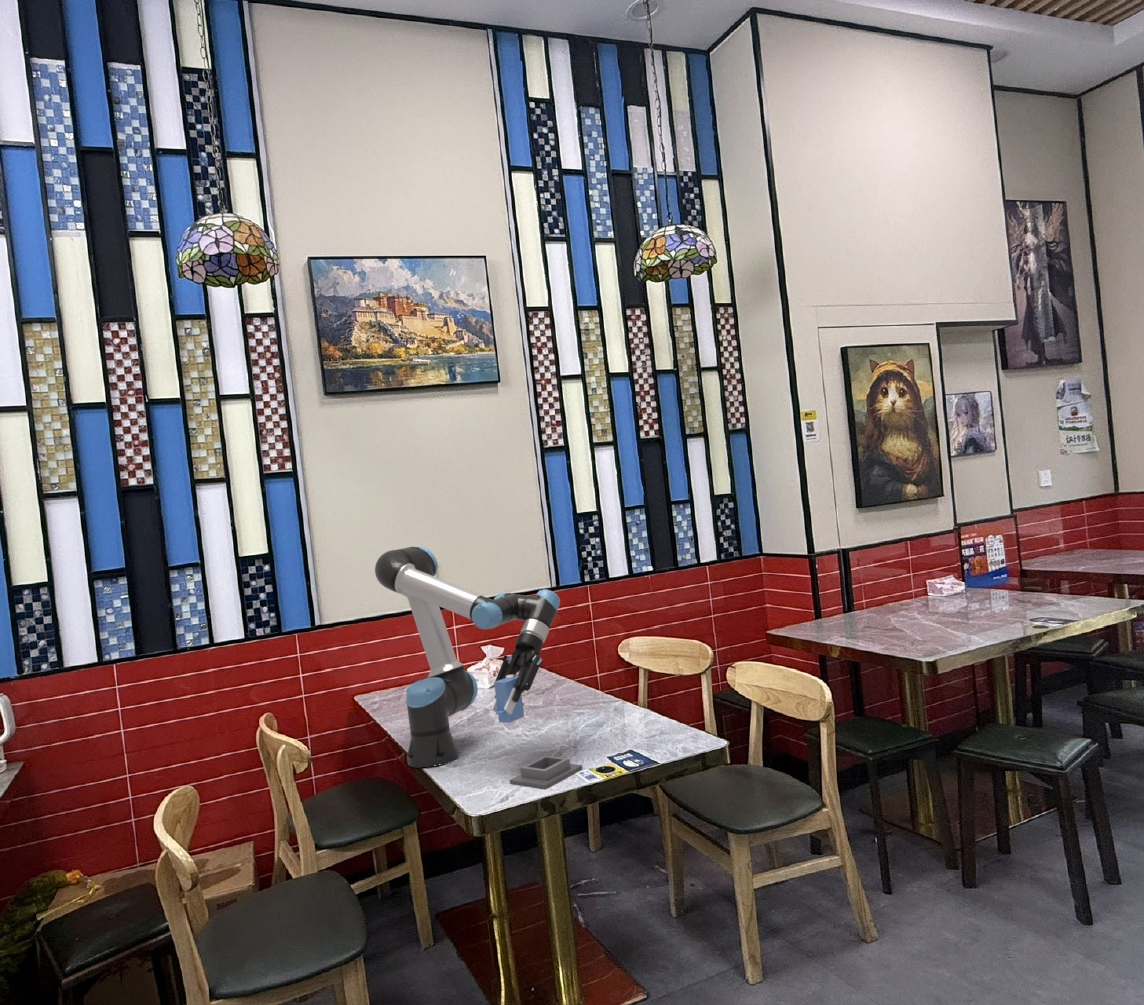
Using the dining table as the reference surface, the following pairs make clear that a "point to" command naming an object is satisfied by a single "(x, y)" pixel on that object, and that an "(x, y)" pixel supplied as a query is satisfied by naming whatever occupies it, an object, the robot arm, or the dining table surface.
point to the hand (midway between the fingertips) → (501, 711)
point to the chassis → (545, 772)
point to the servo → (502, 695)
